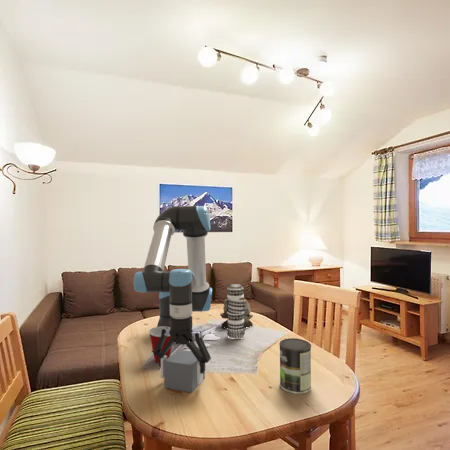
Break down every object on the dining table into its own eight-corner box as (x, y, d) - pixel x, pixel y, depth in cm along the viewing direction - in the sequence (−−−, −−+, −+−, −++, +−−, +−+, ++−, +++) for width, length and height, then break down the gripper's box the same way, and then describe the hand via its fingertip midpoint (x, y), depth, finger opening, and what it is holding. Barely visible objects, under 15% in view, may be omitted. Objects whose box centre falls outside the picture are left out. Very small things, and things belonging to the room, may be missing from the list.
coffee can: (284, 395, 99) (284, 350, 99) (276, 379, 109) (276, 338, 109) (316, 393, 100) (315, 349, 100) (305, 377, 110) (304, 337, 110)
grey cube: (179, 373, 114) (178, 349, 114) (204, 378, 110) (204, 353, 110) (164, 387, 104) (164, 361, 104) (192, 392, 101) (191, 365, 101)
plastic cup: (170, 366, 120) (170, 335, 120) (144, 364, 122) (143, 333, 122) (180, 355, 130) (179, 326, 130) (155, 353, 132) (155, 325, 132)
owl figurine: (223, 331, 160) (223, 297, 160) (217, 324, 171) (216, 293, 171) (256, 327, 165) (255, 294, 165) (247, 321, 176) (247, 290, 177)
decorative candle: (241, 332, 157) (240, 282, 157) (248, 338, 148) (247, 285, 148) (224, 334, 154) (223, 283, 154) (230, 341, 145) (229, 287, 145)
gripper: (142, 315, 106) (143, 378, 106) (211, 322, 98) (211, 390, 97) (155, 309, 113) (155, 368, 113) (219, 315, 105) (220, 379, 105)
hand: (181, 379), depth 105 cm, fingers open, 13 cm apart
